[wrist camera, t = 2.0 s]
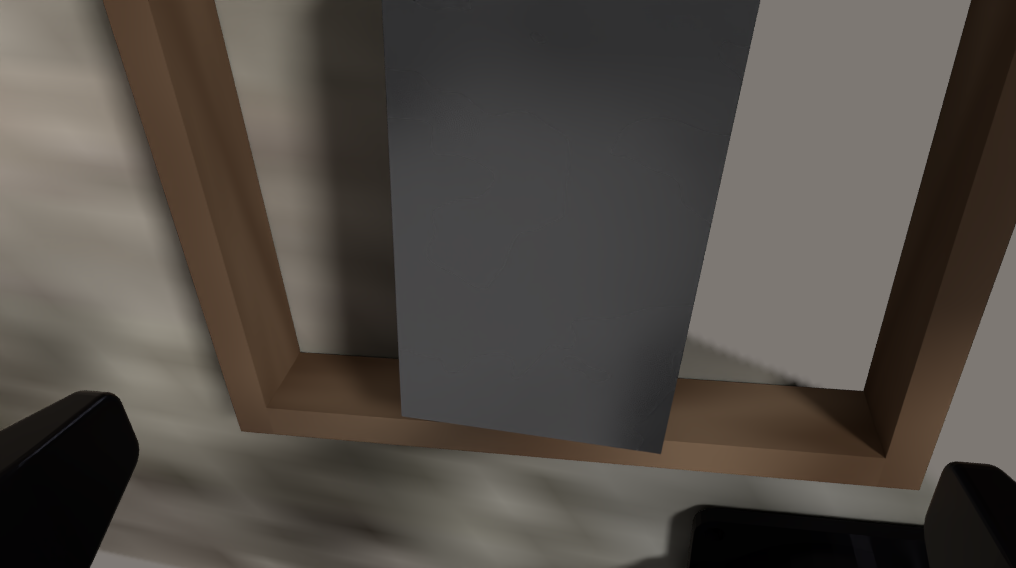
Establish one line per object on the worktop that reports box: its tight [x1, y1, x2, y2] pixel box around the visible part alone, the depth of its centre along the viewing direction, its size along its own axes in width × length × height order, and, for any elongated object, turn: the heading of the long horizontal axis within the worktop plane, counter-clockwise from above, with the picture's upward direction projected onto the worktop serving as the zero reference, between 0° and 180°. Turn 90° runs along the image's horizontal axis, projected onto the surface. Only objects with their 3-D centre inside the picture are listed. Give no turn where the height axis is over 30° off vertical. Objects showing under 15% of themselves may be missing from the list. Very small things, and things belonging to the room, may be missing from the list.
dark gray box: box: [382, 0, 760, 454], centre depth 14 cm, size 5×9×4 cm, turn 177°
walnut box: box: [103, 0, 1016, 490], centre depth 14 cm, size 15×13×2 cm
